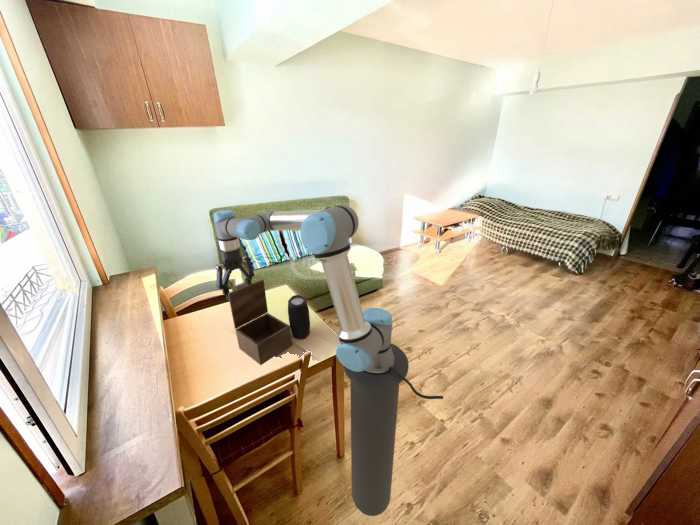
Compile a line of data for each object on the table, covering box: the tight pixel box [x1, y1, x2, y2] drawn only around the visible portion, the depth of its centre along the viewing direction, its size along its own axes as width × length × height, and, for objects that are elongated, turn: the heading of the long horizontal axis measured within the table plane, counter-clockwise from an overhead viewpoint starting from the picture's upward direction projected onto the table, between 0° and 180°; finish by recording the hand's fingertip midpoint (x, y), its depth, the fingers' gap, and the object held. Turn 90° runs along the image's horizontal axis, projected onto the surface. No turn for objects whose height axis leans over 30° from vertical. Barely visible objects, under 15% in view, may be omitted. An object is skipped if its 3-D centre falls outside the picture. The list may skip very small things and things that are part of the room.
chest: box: [234, 312, 293, 366], centre depth 119 cm, size 16×16×10 cm
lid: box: [228, 278, 269, 330], centre depth 120 cm, size 17×16×8 cm
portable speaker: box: [287, 294, 311, 340], centre depth 123 cm, size 9×9×20 cm
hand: (239, 296), depth 122 cm, fingers open, 9 cm apart
